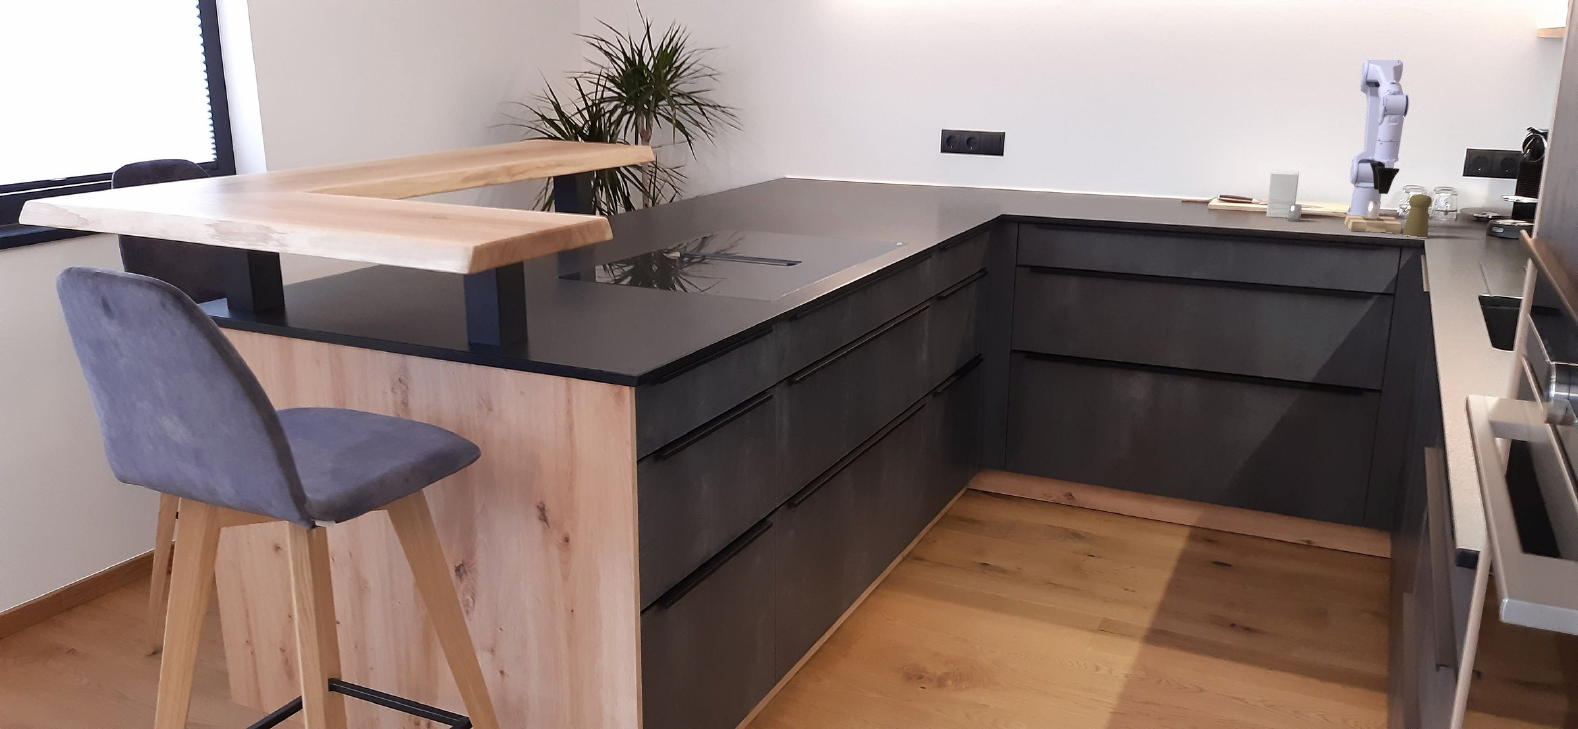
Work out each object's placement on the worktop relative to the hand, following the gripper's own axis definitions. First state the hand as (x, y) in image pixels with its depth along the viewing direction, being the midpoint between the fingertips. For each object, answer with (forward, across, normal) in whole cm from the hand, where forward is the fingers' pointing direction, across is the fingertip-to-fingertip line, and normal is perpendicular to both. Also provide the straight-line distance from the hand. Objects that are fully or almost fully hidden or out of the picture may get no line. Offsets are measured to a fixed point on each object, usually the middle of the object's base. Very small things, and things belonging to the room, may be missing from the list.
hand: (1380, 191), depth 317 cm
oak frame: (+10, +2, -1) cm, 10 cm away
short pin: (+10, -5, -20) cm, 23 cm away
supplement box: (+10, -13, -23) cm, 29 cm away
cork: (+10, +11, +8) cm, 17 cm away
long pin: (+10, +2, -2) cm, 10 cm away
